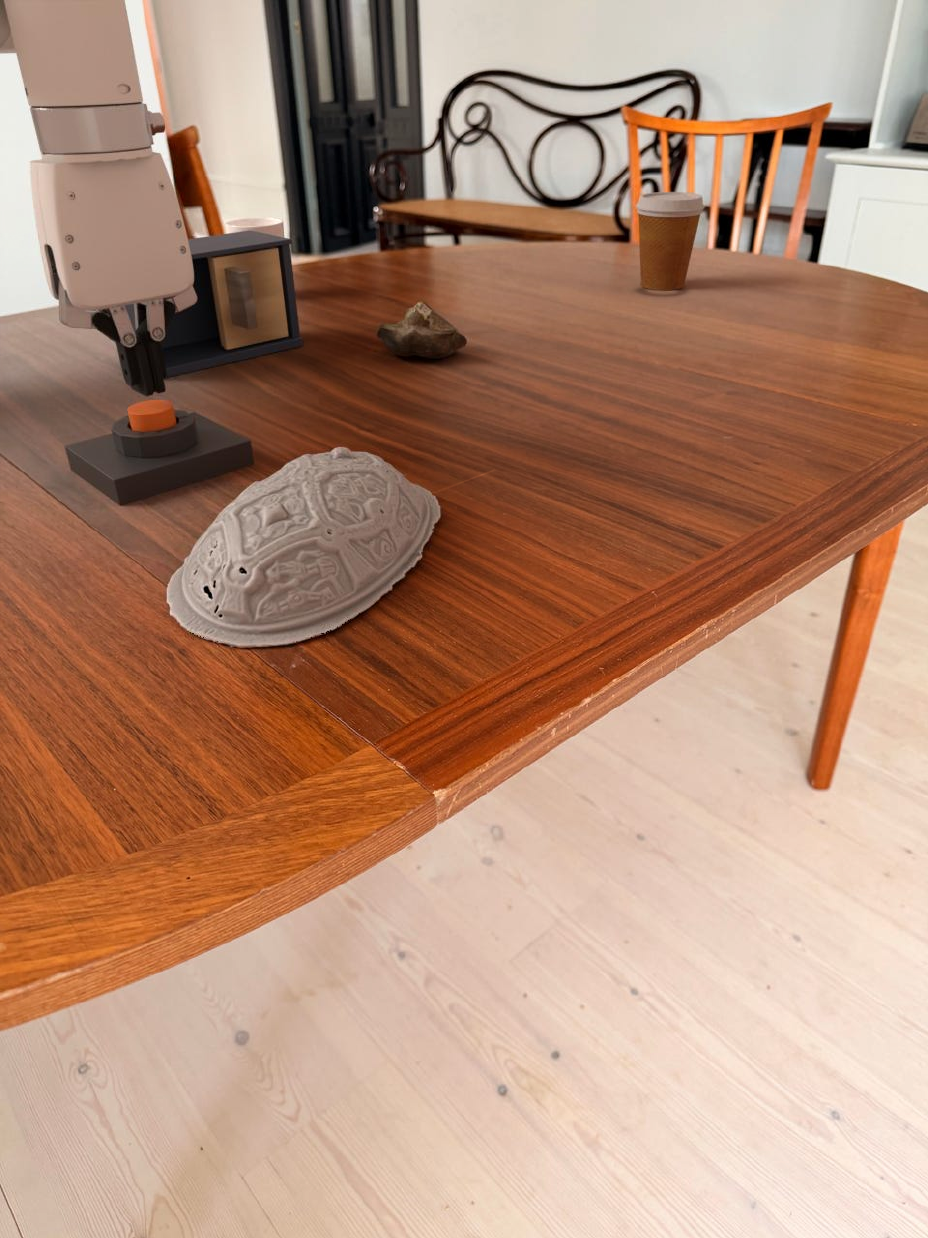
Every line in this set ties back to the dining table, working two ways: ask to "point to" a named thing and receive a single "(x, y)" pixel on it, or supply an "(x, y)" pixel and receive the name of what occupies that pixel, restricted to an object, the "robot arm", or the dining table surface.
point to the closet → (198, 327)
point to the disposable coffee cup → (667, 237)
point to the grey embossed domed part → (303, 551)
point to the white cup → (257, 226)
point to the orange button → (151, 415)
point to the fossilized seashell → (421, 334)
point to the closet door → (249, 297)
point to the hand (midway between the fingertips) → (148, 390)
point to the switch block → (158, 457)
